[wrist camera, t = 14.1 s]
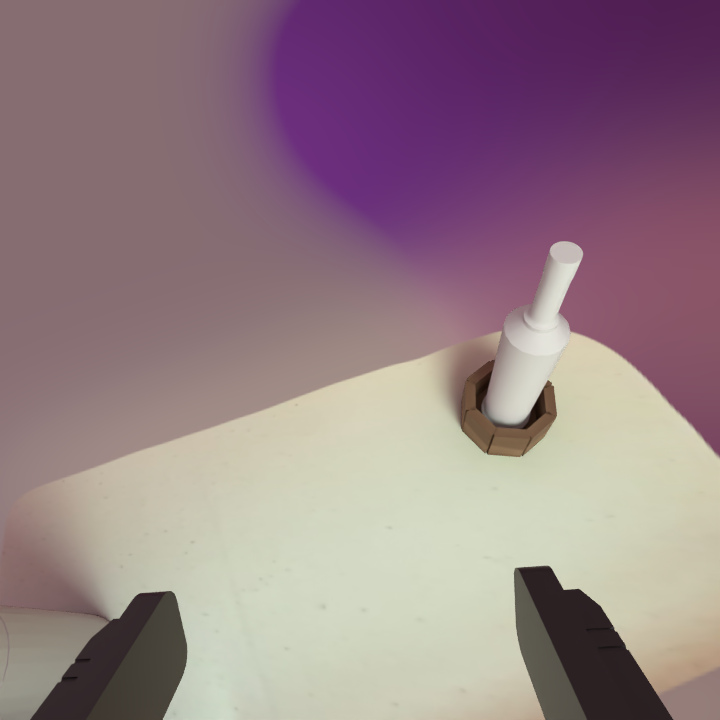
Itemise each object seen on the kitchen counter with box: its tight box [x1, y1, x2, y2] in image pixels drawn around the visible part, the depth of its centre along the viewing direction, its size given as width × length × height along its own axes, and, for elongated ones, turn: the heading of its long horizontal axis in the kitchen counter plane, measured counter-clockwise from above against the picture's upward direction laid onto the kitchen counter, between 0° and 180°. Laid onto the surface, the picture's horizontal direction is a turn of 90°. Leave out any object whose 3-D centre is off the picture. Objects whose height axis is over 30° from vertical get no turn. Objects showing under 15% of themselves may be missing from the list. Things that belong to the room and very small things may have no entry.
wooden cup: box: [462, 360, 557, 457], centre depth 50 cm, size 9×9×5 cm
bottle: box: [481, 242, 583, 429], centre depth 40 cm, size 5×5×25 cm
